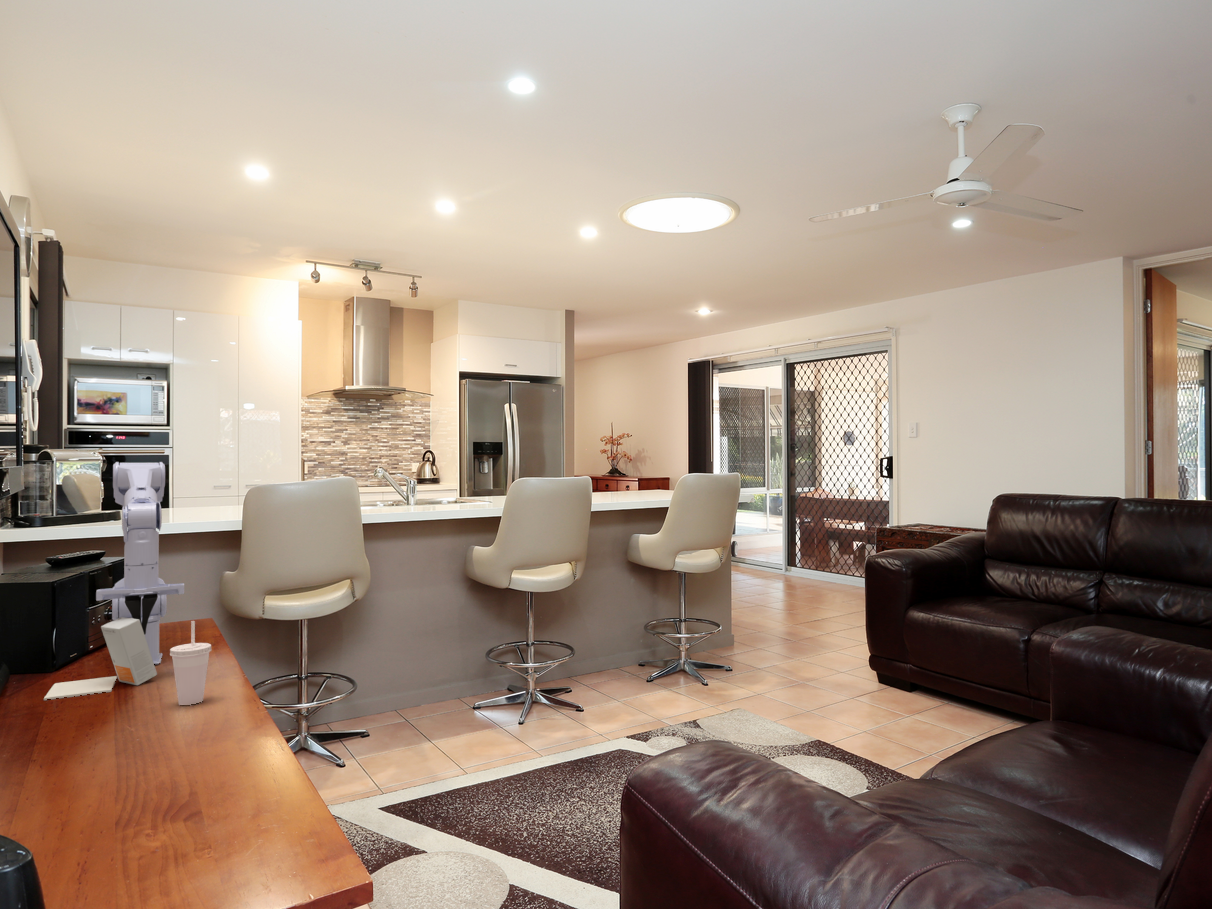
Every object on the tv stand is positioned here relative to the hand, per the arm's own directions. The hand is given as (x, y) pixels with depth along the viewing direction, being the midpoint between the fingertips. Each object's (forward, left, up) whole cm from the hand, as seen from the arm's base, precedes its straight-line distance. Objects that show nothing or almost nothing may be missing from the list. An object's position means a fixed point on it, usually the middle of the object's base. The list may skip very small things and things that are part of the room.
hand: (141, 634), depth 144 cm
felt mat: (+1, -9, -9) cm, 13 cm away
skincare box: (+1, 0, -8) cm, 9 cm away
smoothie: (+22, +9, -9) cm, 25 cm away
